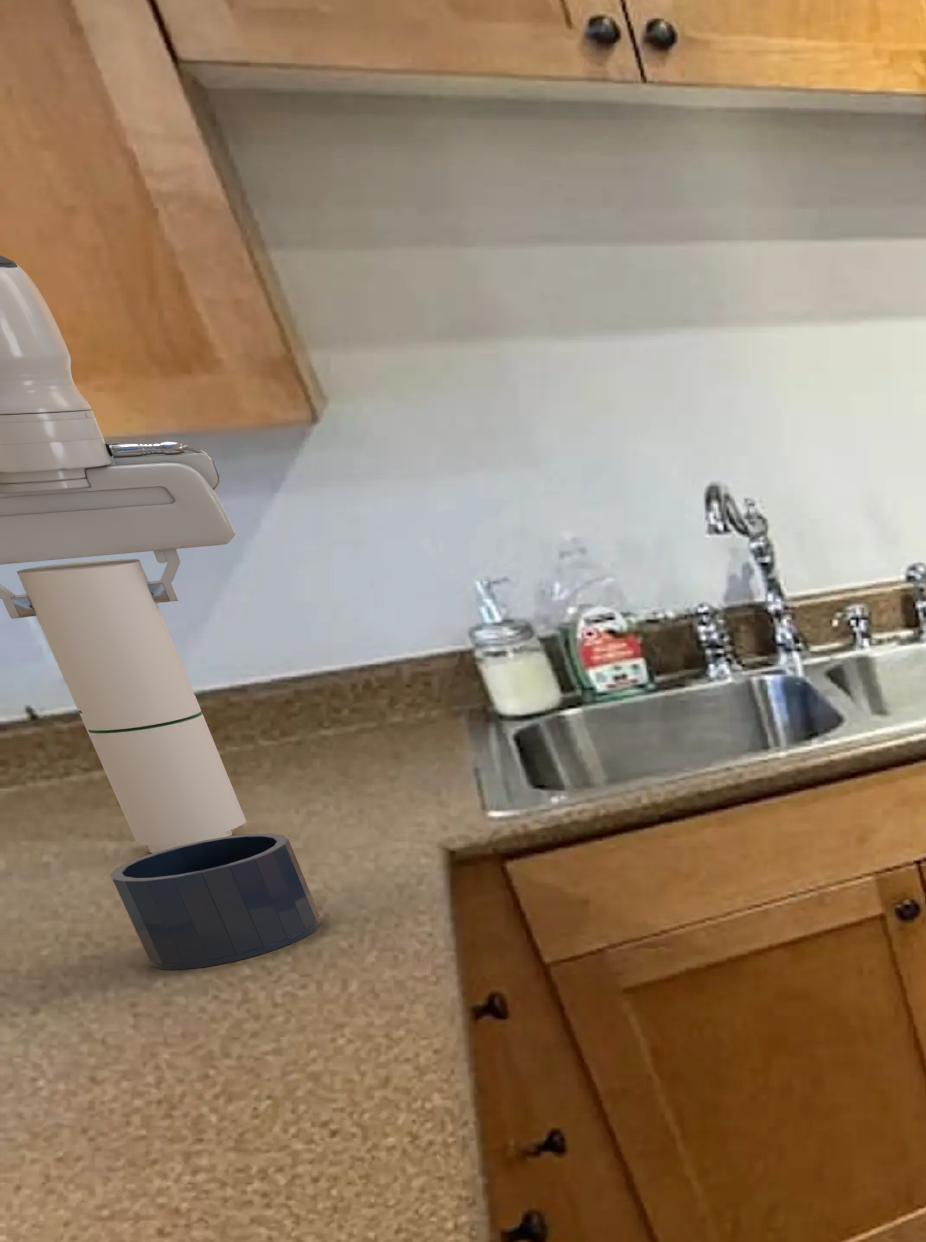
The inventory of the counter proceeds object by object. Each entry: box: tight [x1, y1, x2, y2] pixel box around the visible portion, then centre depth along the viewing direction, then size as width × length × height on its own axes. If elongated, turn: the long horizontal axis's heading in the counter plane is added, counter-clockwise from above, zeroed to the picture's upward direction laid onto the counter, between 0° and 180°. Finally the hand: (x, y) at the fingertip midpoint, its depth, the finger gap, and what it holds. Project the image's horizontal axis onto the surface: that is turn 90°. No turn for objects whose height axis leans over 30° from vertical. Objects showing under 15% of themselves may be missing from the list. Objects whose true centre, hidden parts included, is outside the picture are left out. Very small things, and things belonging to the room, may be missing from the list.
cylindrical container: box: [16, 558, 247, 846], centre depth 119 cm, size 7×7×25 cm
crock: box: [109, 833, 322, 971], centre depth 125 cm, size 12×12×9 cm
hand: (97, 608), depth 116 cm, fingers closed on cylindrical container, 7 cm apart
